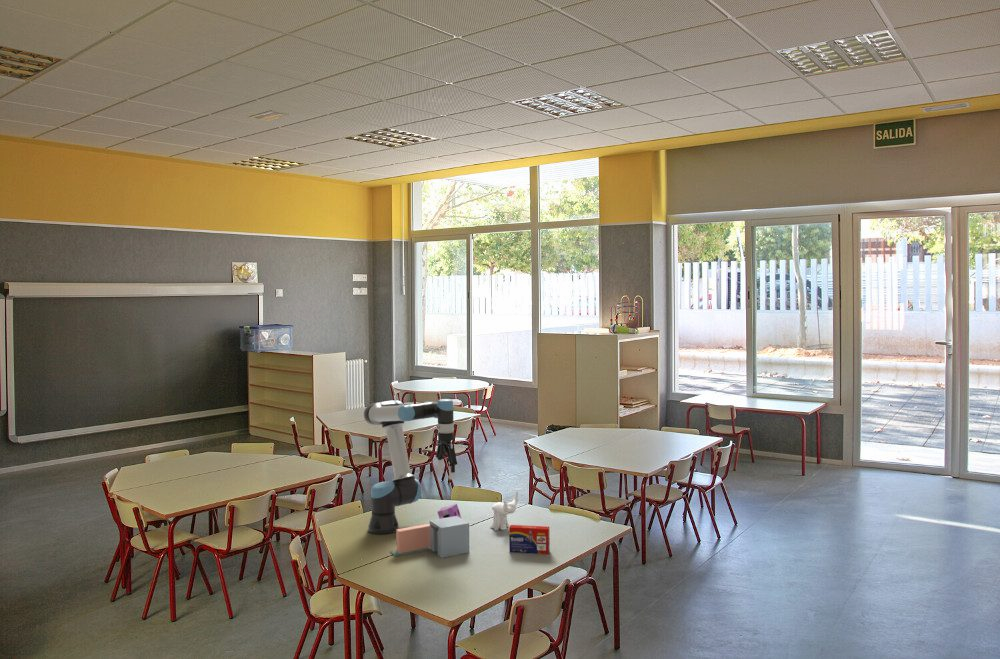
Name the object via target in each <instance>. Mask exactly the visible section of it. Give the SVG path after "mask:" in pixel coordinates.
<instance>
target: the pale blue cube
mask: <svg viewBox="0 0 1000 659" xmlns="http://www.w3.org/2000/svg"><path fill="white" fill-rule="evenodd" d="M461 518H462V517H461ZM461 518H460V517H458V516H453V517H447V518H441V519H439V518H436V519H430V520H429V525H430V547H429V548H430V550H431V551H432V552H437V556H439V557H440V558H441V559H442V558H446V557H451V556H457V555H463V554H467V553H470V523H469V522H468V521H466V520H465V519H463V518H462V519H461Z"/></svg>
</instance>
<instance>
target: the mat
mask: <svg viewBox="0 0 1000 659" xmlns="http://www.w3.org/2000/svg"><path fill="white" fill-rule="evenodd" d="M429 550H431V549H430V547H429V548H424V549H419V550H414V551H408V552H403V553H398V552H397V549H394V550H390V551H389V552H390V553H391V554H392V555H393V556H394V557H397V556H398V557H399V556H403V555H408V554H414V553H418V552H419V553H420V552H425V551H429Z"/></svg>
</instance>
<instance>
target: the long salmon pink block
mask: <svg viewBox="0 0 1000 659" xmlns="http://www.w3.org/2000/svg"><path fill="white" fill-rule="evenodd" d="M395 534H396V537H395V538H396V550H397V552H398V553H403V552H408V551H414V550H419V549H424V548H430V523H426V524H425V523H424V524H420V525H414V526H408V527H404V528H399V529H396V531H395Z"/></svg>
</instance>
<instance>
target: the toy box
mask: <svg viewBox="0 0 1000 659" xmlns="http://www.w3.org/2000/svg"><path fill="white" fill-rule="evenodd" d="M508 529H509V530H508V534H509V538H508V540H509V542H508V543H509V548H508V549H509V551H508V552H509V553H514V554H515V553H517V554H531V553H532V555H533V554H537V555H550V550H551V549H550V548H551V547H550V542H551V541H550V540H551V538H550V536H551V535H550V526H544V525H543V526H542V525H540V526H539V525H521V524H509V527H508Z"/></svg>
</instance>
